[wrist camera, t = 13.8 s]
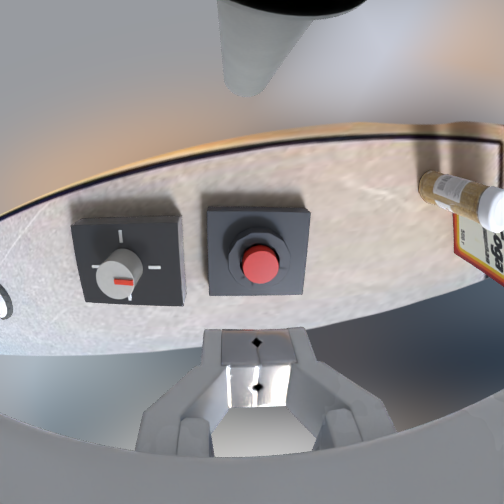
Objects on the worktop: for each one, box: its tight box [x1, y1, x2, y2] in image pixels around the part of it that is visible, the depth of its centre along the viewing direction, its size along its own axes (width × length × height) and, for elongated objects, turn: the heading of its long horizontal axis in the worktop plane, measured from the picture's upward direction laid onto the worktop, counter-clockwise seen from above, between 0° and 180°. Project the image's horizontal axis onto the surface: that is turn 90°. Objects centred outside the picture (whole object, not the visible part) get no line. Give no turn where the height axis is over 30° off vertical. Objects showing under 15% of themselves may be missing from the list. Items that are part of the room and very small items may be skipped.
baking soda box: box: [453, 213, 504, 287], centre depth 28 cm, size 10×6×16 cm
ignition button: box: [242, 245, 279, 284], centre depth 30 cm, size 4×4×2 cm
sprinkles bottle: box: [419, 170, 504, 233], centre depth 27 cm, size 5×5×13 cm
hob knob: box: [96, 249, 143, 299], centre depth 29 cm, size 4×4×4 cm
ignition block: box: [207, 207, 311, 296], centre depth 33 cm, size 10×11×4 cm
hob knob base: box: [71, 216, 187, 306], centre depth 32 cm, size 10×13×3 cm
